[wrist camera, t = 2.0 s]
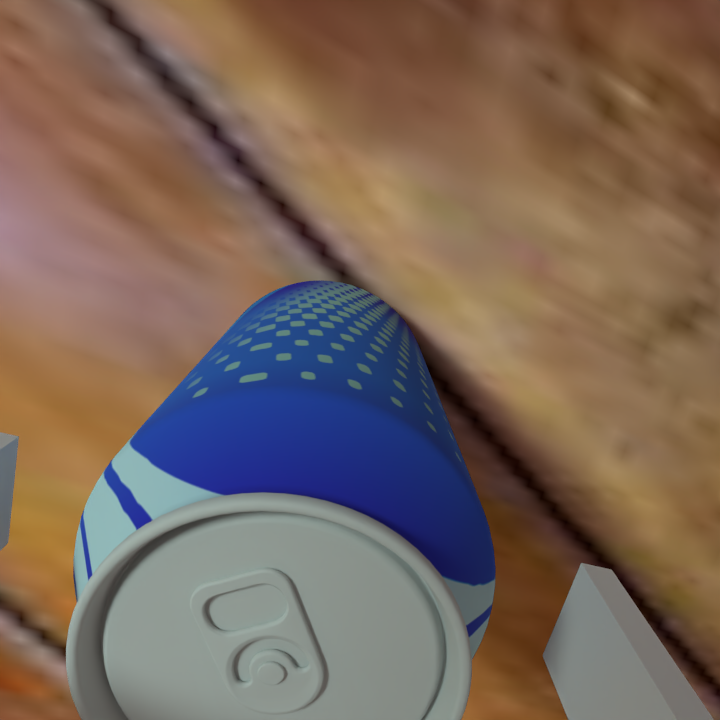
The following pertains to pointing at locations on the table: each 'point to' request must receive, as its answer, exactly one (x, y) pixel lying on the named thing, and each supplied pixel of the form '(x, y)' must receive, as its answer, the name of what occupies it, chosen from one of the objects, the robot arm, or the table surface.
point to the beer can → (286, 533)
